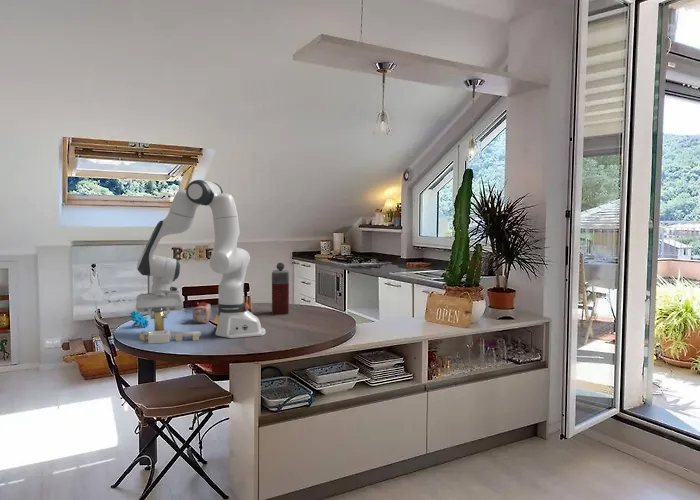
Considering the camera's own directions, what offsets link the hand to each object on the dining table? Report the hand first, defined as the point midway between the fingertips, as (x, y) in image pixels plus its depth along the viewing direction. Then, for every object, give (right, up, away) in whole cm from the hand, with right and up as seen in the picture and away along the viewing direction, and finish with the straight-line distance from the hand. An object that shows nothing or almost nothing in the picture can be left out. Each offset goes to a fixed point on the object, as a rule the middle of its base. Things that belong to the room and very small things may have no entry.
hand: (158, 317), depth 237 cm
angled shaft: (-3, -9, -6) cm, 11 cm away
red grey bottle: (+47, -5, +57) cm, 74 cm away
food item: (+10, -6, +33) cm, 35 cm away
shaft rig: (+10, -9, -7) cm, 15 cm away
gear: (-16, -7, +20) cm, 27 cm away
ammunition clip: (+29, -6, +41) cm, 51 cm away
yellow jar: (0, -6, +1) cm, 6 cm away
